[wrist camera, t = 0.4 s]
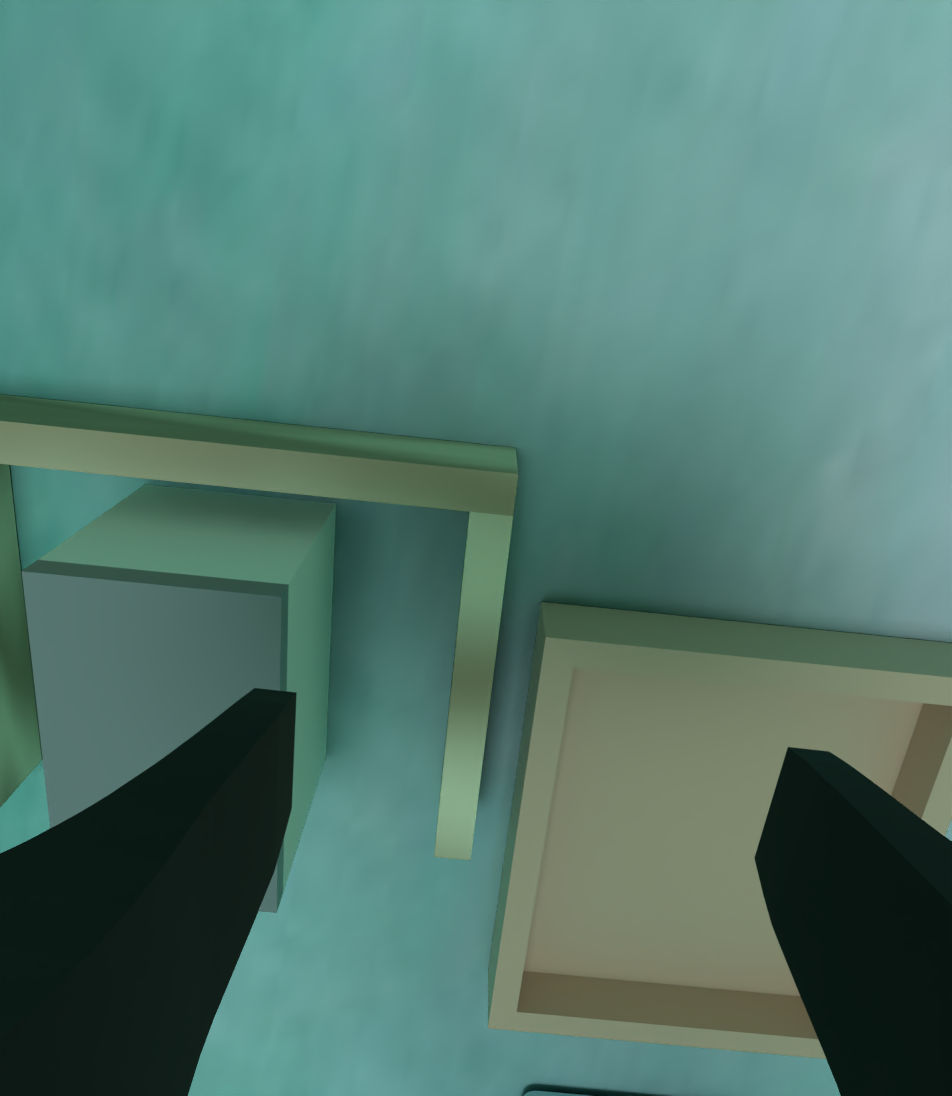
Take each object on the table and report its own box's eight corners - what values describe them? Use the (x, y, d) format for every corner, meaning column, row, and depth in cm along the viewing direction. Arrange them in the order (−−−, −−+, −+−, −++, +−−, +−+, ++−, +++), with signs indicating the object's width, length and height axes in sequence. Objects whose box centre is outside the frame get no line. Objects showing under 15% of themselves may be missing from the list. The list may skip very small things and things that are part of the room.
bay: (472, 800, 24) (470, 860, 22) (8, 756, 24) (-44, 811, 22) (515, 447, 20) (518, 474, 18) (-39, 390, 20) (-109, 409, 18)
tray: (831, 1002, 27) (857, 1061, 25) (488, 970, 27) (487, 1028, 25) (958, 643, 22) (1004, 682, 20) (541, 601, 22) (545, 637, 20)
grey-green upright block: (326, 755, 24) (276, 912, 18) (159, 739, 24) (57, 892, 18) (336, 502, 21) (281, 597, 15) (146, 483, 21) (21, 571, 15)
